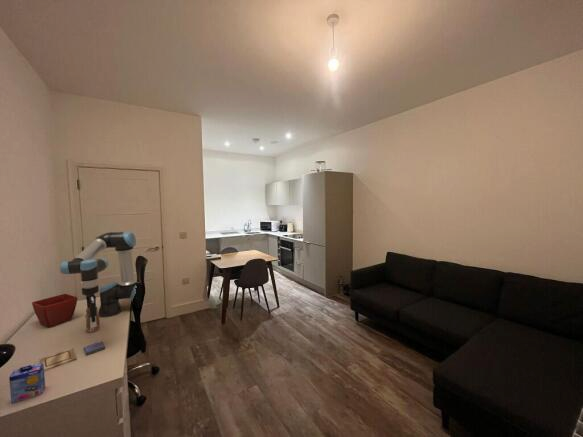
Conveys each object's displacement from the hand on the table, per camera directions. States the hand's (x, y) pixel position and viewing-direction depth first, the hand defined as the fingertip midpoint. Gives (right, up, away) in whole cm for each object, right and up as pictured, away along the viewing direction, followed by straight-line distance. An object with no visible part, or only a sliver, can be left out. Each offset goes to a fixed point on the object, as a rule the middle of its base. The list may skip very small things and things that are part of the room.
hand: (92, 324), depth 144 cm
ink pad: (0, -15, +1) cm, 15 cm away
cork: (0, 0, 0) cm, 0 cm away
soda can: (-18, -14, +23) cm, 32 cm away
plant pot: (-54, -13, +35) cm, 66 cm away
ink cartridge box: (-2, -17, -33) cm, 38 cm away
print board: (-12, -16, -9) cm, 22 cm away
